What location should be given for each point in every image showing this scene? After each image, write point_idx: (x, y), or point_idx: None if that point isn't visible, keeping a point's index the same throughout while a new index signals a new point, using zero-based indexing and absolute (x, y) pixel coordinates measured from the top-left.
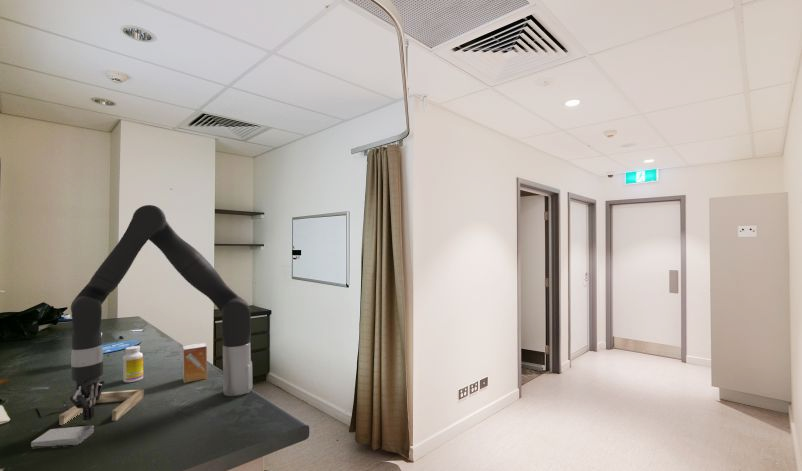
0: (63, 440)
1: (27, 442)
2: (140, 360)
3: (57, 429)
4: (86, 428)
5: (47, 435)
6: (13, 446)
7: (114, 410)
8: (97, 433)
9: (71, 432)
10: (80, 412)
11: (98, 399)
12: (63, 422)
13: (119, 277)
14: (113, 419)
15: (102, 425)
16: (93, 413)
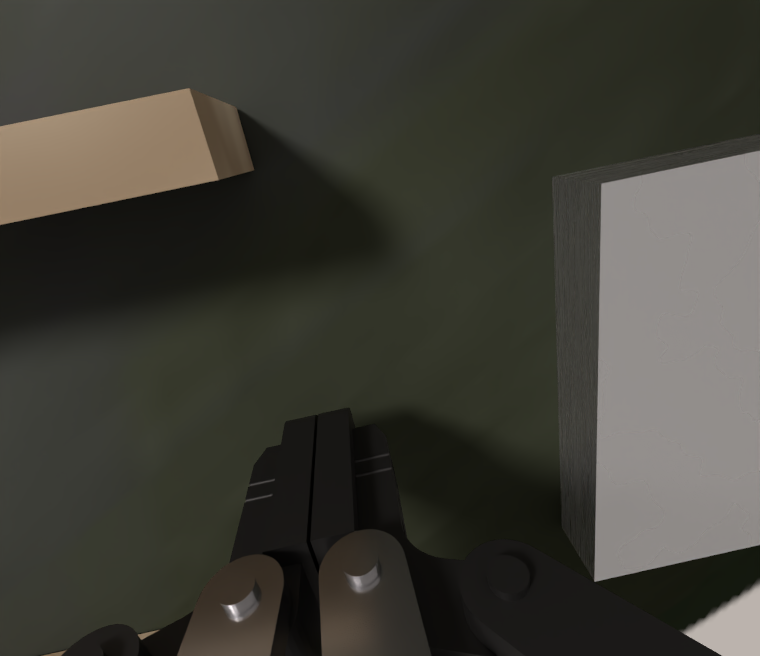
0: None
1: (635, 587)
2: None
3: (616, 523)
4: (680, 217)
5: (734, 507)
6: (673, 616)
7: (178, 147)
8: (600, 91)
9: (748, 325)
10: None
11: (90, 640)
12: None
13: None
14: (243, 149)
15: (380, 207)
16: (296, 447)
